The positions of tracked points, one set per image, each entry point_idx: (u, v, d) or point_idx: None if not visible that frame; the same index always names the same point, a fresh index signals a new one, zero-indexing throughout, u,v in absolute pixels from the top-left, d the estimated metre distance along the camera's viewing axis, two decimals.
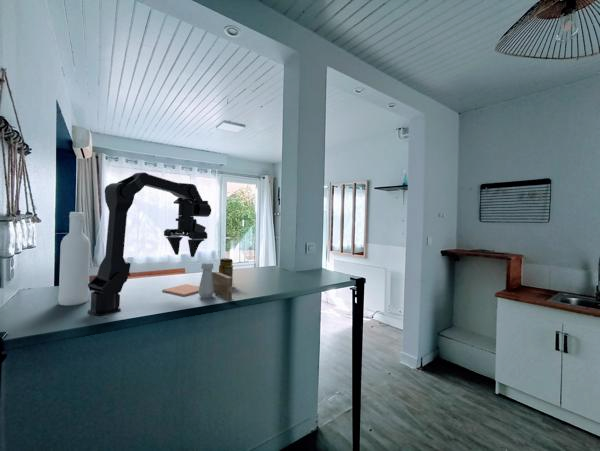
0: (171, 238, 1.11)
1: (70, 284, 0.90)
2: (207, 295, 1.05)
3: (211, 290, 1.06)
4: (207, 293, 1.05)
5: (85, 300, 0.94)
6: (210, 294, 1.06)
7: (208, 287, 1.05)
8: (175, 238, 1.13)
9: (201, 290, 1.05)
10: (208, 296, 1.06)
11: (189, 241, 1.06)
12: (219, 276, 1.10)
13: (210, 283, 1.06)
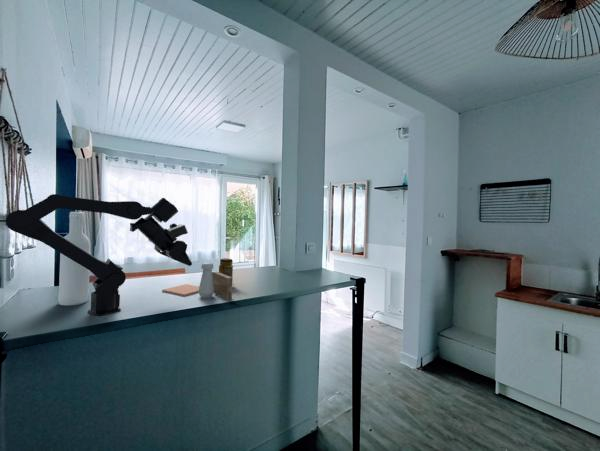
0: (164, 253, 1.02)
1: (70, 284, 0.90)
2: (207, 295, 1.05)
3: (211, 290, 1.06)
4: (207, 293, 1.05)
5: (85, 300, 0.94)
6: (210, 294, 1.06)
7: (208, 287, 1.05)
8: None
9: (201, 290, 1.05)
10: (208, 296, 1.06)
11: None
12: (219, 276, 1.10)
13: (210, 283, 1.06)
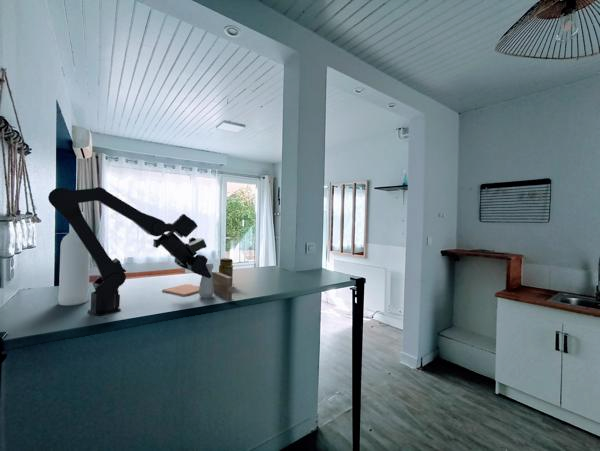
0: (184, 266, 1.07)
1: (70, 284, 0.90)
2: (207, 295, 1.05)
3: (211, 290, 1.06)
4: (207, 293, 1.05)
5: (85, 300, 0.94)
6: (210, 294, 1.06)
7: (208, 287, 1.05)
8: (187, 263, 1.07)
9: (201, 290, 1.05)
10: (208, 296, 1.06)
11: None
12: (219, 276, 1.10)
13: (210, 283, 1.06)
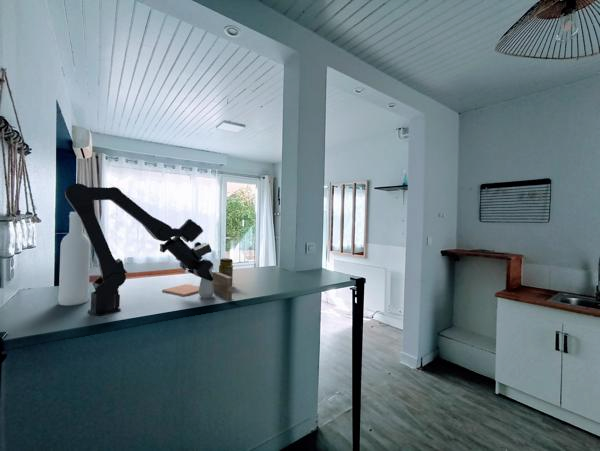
0: (191, 271, 1.06)
1: (70, 284, 0.90)
2: (207, 295, 1.05)
3: (211, 290, 1.06)
4: (207, 293, 1.05)
5: (85, 300, 0.94)
6: (210, 294, 1.06)
7: (208, 287, 1.05)
8: None
9: (201, 290, 1.05)
10: (208, 296, 1.06)
11: None
12: (219, 276, 1.10)
13: (210, 283, 1.06)
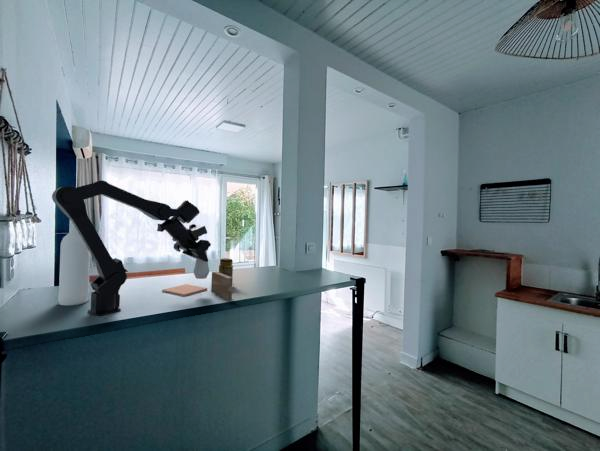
0: (187, 253, 1.08)
1: (70, 284, 0.90)
2: (203, 275, 1.08)
3: (207, 271, 1.09)
4: (203, 273, 1.07)
5: (85, 300, 0.94)
6: (206, 274, 1.09)
7: (204, 268, 1.08)
8: (190, 249, 1.09)
9: (197, 271, 1.07)
10: (204, 276, 1.08)
11: (193, 256, 1.04)
12: (219, 276, 1.10)
13: (205, 263, 1.09)
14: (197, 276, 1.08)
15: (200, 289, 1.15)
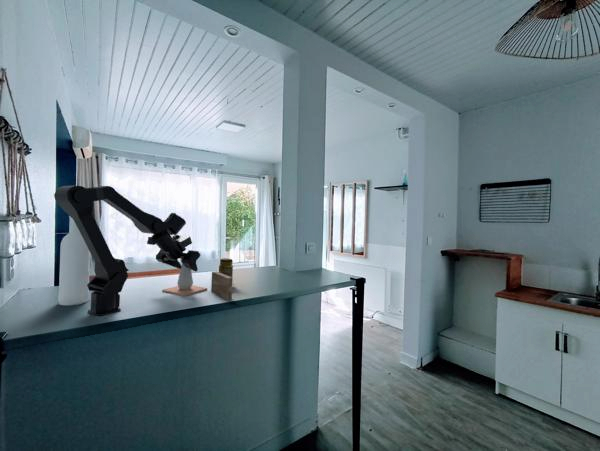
0: (167, 262, 1.12)
1: (70, 284, 0.90)
2: (188, 287, 1.13)
3: (191, 282, 1.14)
4: (188, 285, 1.13)
5: (85, 300, 0.94)
6: (190, 286, 1.14)
7: (189, 279, 1.13)
8: None
9: (183, 283, 1.12)
10: (189, 288, 1.13)
11: None
12: (219, 276, 1.10)
13: (190, 275, 1.14)
14: (182, 288, 1.12)
15: (200, 289, 1.15)
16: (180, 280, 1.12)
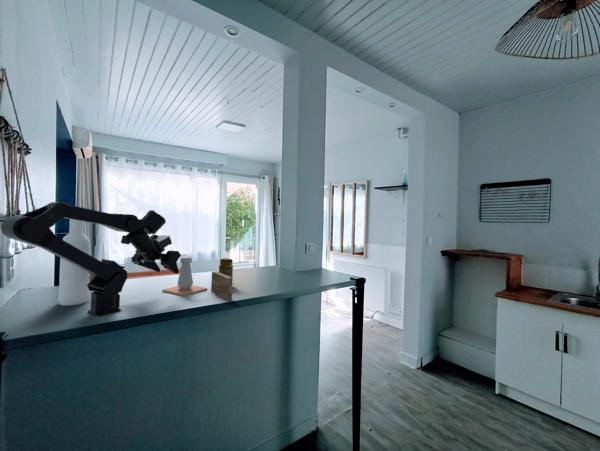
0: (144, 264, 1.03)
1: (70, 284, 0.90)
2: (188, 287, 1.13)
3: (191, 282, 1.14)
4: (188, 285, 1.13)
5: (85, 300, 0.94)
6: (190, 286, 1.14)
7: (189, 279, 1.13)
8: None
9: (183, 283, 1.12)
10: (188, 288, 1.13)
11: (166, 268, 0.99)
12: (219, 276, 1.10)
13: (190, 275, 1.14)
14: (182, 288, 1.12)
15: (200, 289, 1.15)
16: (180, 280, 1.12)
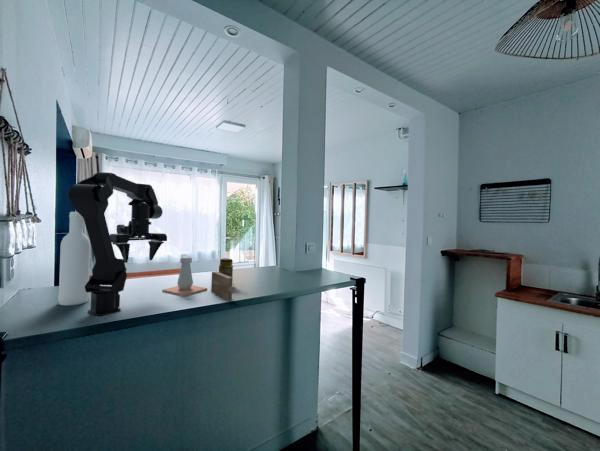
0: None
1: (70, 284, 0.90)
2: (188, 287, 1.13)
3: (191, 282, 1.14)
4: (188, 285, 1.13)
5: (85, 300, 0.94)
6: (190, 286, 1.14)
7: (189, 279, 1.13)
8: None
9: (183, 283, 1.12)
10: (188, 288, 1.13)
11: (159, 244, 1.07)
12: (219, 276, 1.10)
13: (190, 275, 1.14)
14: (182, 288, 1.12)
15: (200, 289, 1.15)
16: (180, 280, 1.12)
